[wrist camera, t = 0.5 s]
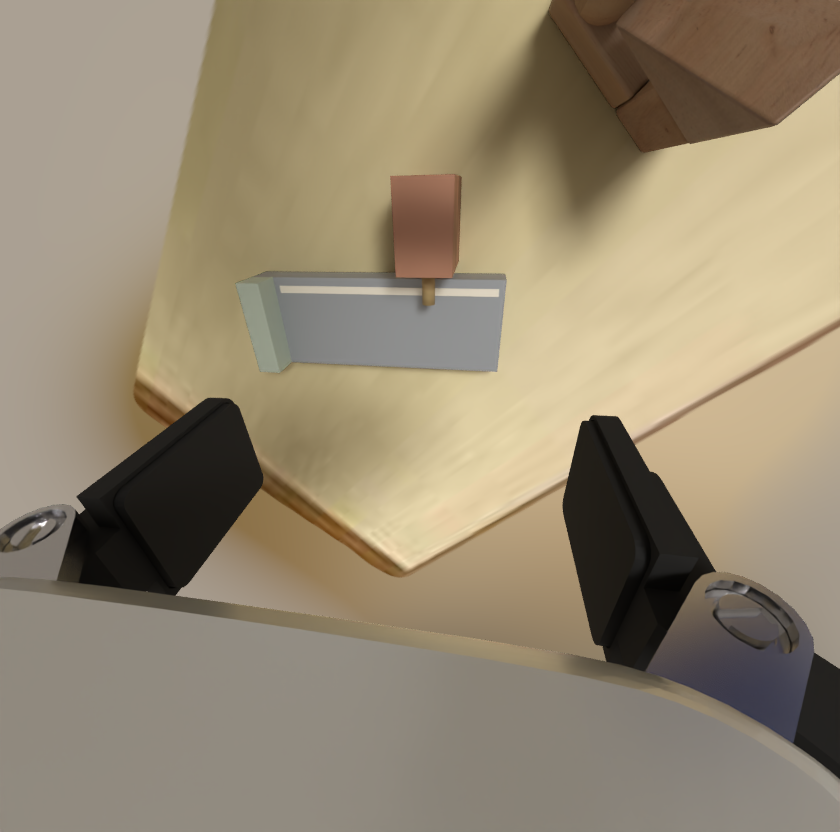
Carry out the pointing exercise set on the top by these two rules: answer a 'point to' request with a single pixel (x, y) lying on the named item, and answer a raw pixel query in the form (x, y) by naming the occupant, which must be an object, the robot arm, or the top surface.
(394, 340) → the grey board
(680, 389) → the top surface
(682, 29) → the brown forked upright piece
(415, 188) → the brown block
